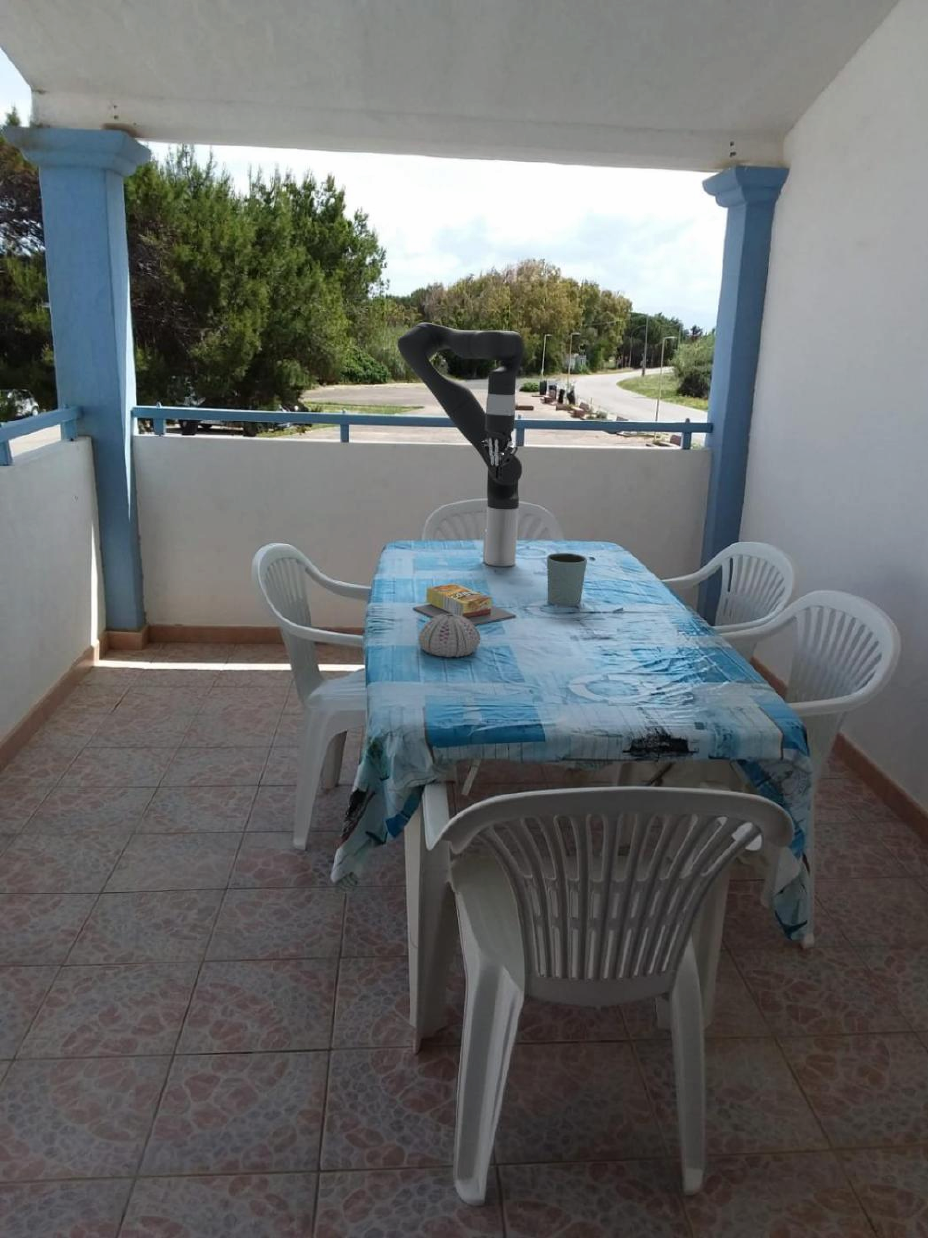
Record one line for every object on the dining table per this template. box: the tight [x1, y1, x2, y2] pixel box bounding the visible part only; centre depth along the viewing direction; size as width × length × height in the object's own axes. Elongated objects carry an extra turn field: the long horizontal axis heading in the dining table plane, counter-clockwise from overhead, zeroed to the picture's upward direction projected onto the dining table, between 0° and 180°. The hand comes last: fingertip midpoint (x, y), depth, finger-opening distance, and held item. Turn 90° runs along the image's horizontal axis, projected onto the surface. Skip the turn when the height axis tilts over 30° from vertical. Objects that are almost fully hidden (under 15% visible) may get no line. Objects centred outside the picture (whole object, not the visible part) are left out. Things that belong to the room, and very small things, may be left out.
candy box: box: [426, 583, 492, 618], centre depth 213 cm, size 9×4×15 cm
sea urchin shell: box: [417, 613, 481, 658], centre depth 185 cm, size 13×14×8 cm
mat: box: [412, 603, 517, 627], centre depth 212 cm, size 18×18×1 cm
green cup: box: [546, 552, 588, 608], centre depth 222 cm, size 10×10×12 cm
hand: (497, 479), depth 228 cm, fingers closed
